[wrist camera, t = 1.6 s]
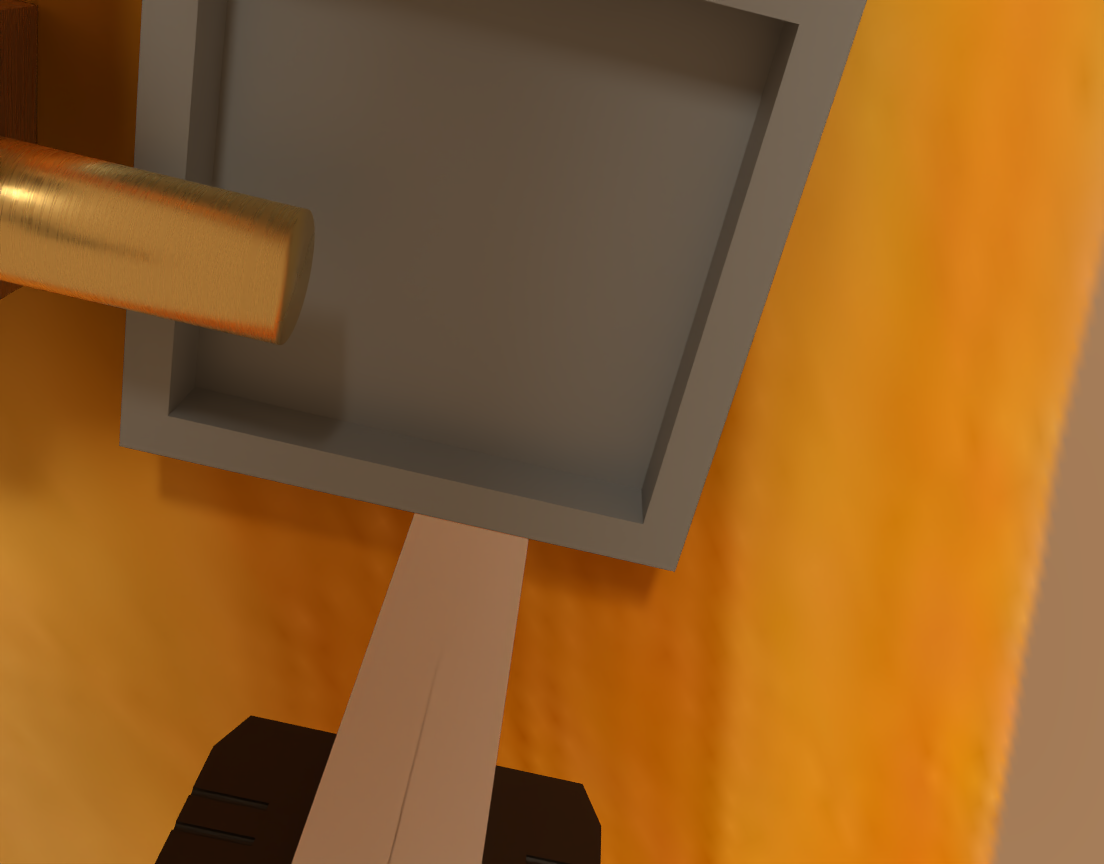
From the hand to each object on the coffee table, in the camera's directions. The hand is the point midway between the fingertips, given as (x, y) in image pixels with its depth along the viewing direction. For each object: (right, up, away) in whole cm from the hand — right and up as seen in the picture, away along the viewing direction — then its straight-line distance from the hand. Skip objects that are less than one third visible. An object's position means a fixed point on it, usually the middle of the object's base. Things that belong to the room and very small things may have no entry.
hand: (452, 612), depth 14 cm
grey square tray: (-1, +8, +13) cm, 15 cm away
